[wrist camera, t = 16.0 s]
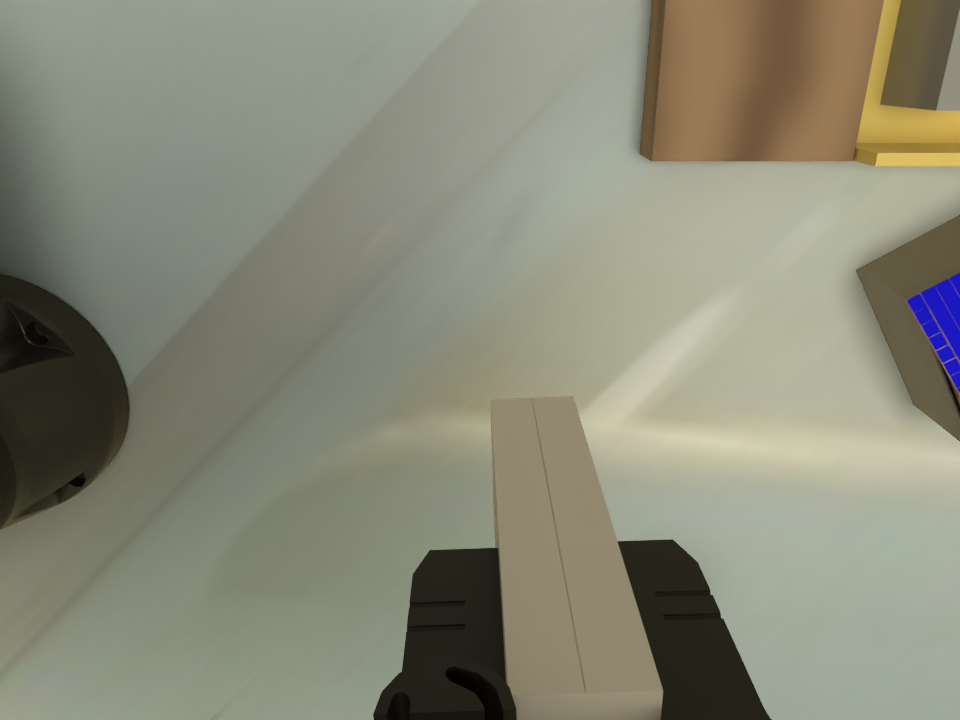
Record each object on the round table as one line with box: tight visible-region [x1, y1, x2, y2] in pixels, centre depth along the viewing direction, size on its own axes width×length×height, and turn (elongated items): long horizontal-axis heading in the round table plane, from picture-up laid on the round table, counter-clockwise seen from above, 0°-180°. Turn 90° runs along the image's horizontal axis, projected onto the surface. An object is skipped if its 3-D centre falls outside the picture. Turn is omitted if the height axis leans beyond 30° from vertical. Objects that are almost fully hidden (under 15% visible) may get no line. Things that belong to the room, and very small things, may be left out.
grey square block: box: [880, 0, 960, 111], centre depth 34 cm, size 5×5×3 cm
